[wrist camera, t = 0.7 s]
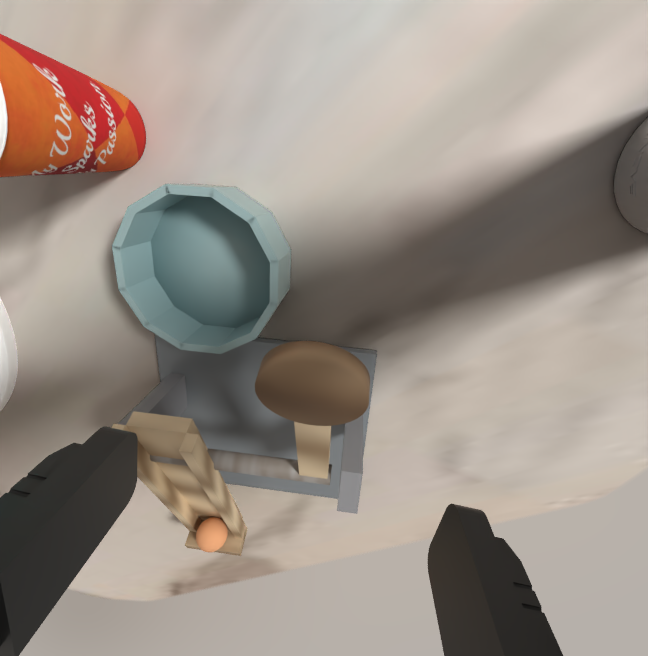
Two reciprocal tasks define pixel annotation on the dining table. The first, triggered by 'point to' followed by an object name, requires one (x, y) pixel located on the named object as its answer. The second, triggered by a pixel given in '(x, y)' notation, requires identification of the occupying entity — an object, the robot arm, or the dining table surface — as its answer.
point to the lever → (204, 463)
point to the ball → (211, 534)
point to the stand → (252, 415)
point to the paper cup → (61, 118)
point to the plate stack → (7, 357)
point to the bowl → (202, 265)
